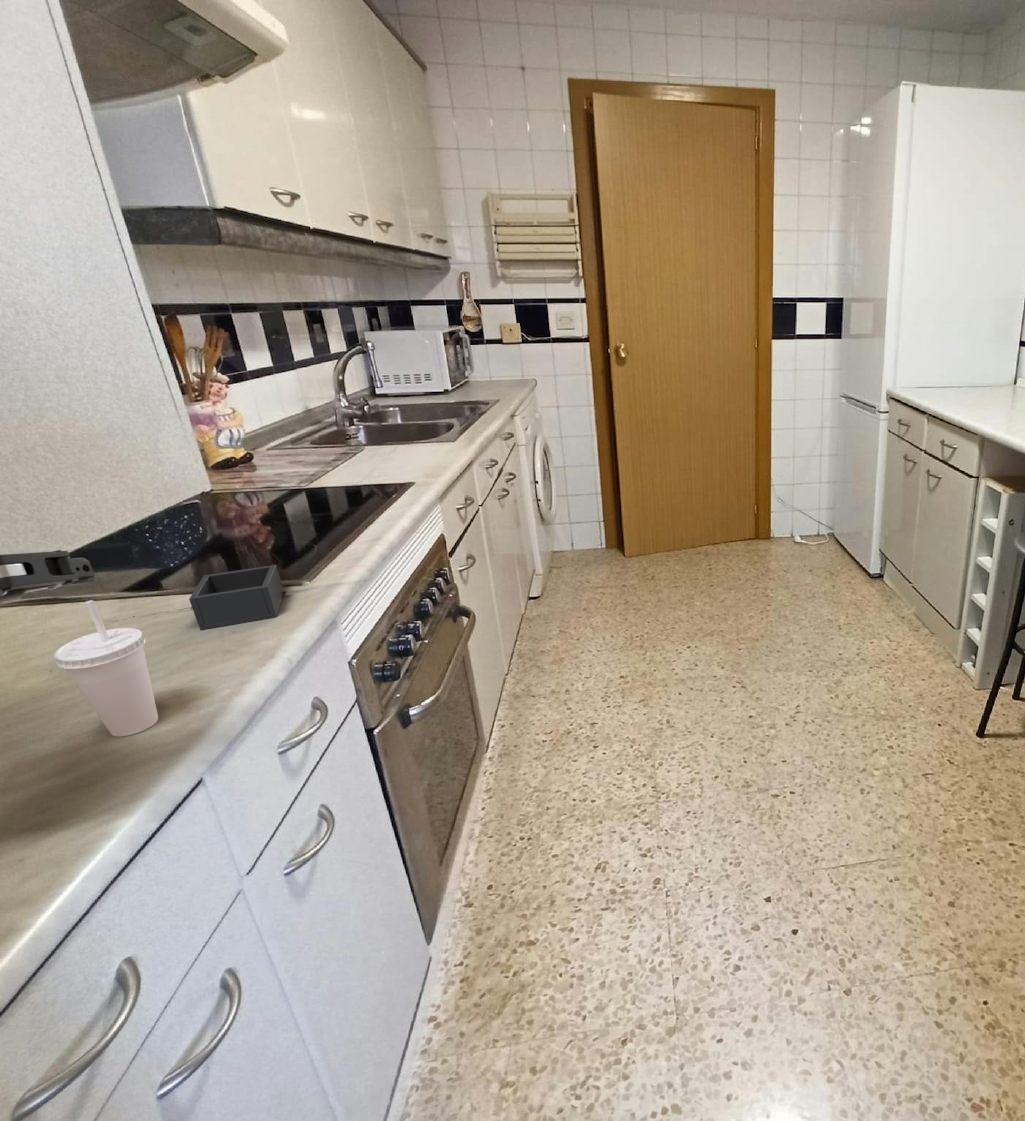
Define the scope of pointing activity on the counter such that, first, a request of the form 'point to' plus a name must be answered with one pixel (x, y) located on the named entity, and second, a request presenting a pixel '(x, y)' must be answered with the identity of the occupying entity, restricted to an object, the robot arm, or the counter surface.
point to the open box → (237, 597)
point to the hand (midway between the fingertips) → (34, 585)
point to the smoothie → (112, 676)
